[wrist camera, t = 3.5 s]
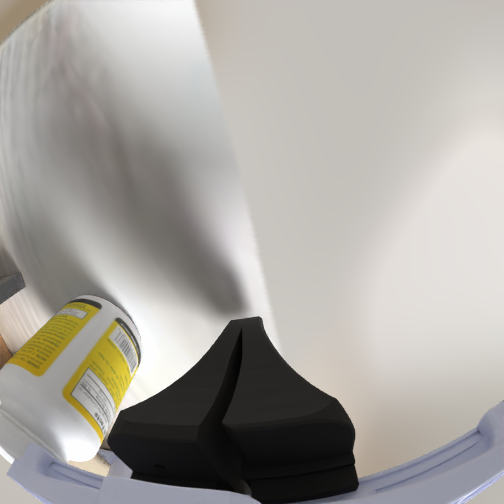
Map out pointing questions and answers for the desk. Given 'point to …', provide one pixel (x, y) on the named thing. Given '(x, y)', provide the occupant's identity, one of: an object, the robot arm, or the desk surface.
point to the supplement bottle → (68, 381)
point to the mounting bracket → (4, 290)
